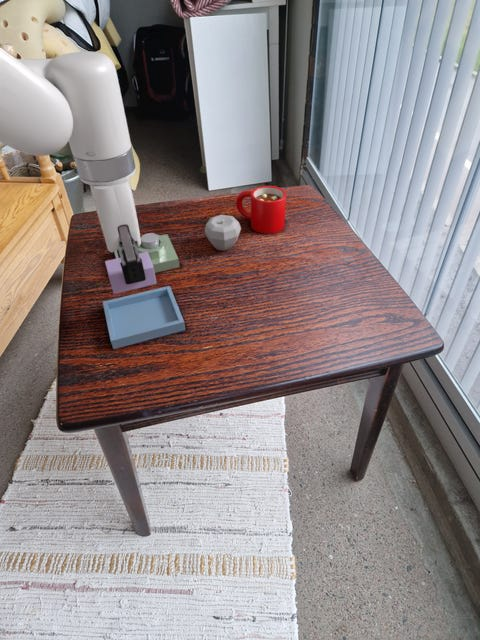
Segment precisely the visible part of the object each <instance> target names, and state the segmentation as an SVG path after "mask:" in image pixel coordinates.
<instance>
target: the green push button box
mask: <svg viewBox="0 0 480 640" xmlns="http://www.w3.org/2000/svg"><path fill="white" fill-rule="evenodd" d="M157 235H158V238H159V246H158V247H156V248H153V249H144V248H143V247H142V244H140V246H139V247H138V245H137V248H138V253H144V252H148V254H149V257H150V259H151V262H152V265H153V267H154V272H155V274H156V273H160V272H165V271H169V270H174V269H178V268H181V267H180V259H179V257H178V254H177V252H176V250H175V248H174V246H173V243H172V241H171V239H170V236H169V235H168V234H167V233H166V234H165V233H164V234H157ZM113 253H114V257H115V259H117V258H119V257H118V253H117V251H114V252H113Z"/></svg>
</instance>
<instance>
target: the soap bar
mask: <svg viewBox="0 0 480 640" xmlns="http://www.w3.org/2000/svg"><path fill="white" fill-rule="evenodd" d="M139 257H140V258H141V259H142V264H143V268H144V272H145V277H146V280H145V281H141V282H137V283H133V284H126V283H125V279H124V275H123V272H122V268H121V264H120V263H121V262H122V261H121V258H117V259H116V258H113V259H107V260H105V261H104V263H105V267H106V270H107V275H108V279H109V284H110V286H111V289H112V292H113V294H114V295H117V294H120V293H125V292H128V291H133V290H137V289H140V288H145V287H149V286H153V285H157V279H156V278H157V277H156V273H155V272H154V267H153V265H152V262H151V259H150V257H149V254H148V252H144V253H139Z"/></svg>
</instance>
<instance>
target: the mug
mask: <svg viewBox="0 0 480 640" xmlns="http://www.w3.org/2000/svg"><path fill="white" fill-rule="evenodd" d="M245 198H250V212H249V211H247V210H246V209H245V207H244V206H243V200H244V199H245ZM286 204H287V192H286V191H285V190H284V189H283V188H281V187H278V186H275V185H262V186H258V187H255V188H254V189H253V190H252V189H245V190H242V191H241V192H240V193H239V194H238V195H237V197H236V199H235V206H236V209H237V211H238V213H239V214H240V215H241V216H242V217H243V218H245V219H247V220H250V227H251V229H252V230H253V231H255V232H257V233H259V234H265V235H269V234H270V235H272V234H276V233H279V232H281V231H282V230H283V229H284V227H285V221H286V206H287V205H286Z"/></svg>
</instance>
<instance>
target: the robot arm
mask: <svg viewBox="0 0 480 640" xmlns="http://www.w3.org/2000/svg"><path fill="white" fill-rule="evenodd" d="M0 143H2V144H4V145H5V146H6V147H7V146H8V147H10V148H11V149H14V150H15V151H18V152H20V153H23V154H25V155H30V156H36V157H37V156H38V157H43V156H45V157H46V156H51V155H54V154H56V153H57V152H60V151H61V150H62V149H64V147H66V146H67V144H68V145H69V148H70V150H71V154H72V158H73V160H74V163H75V167H76V170H77V174H78V177H79V180H80V181H81V182H82V183H84V184H86V185H89V188H90V192H91V196H92V201H93V203H94V208H95V211H96V214H97V217H98V218H97V219H98V221H99V224H100V228H101V231H102V235H103V238H104V241H105V245H106V248H107V251H108V252H110V253H114V251H117V253H118V257H119V258H121V261H122V262H121V263H120V264H121V268H122V272H123V275H124V279H125V283H126V284H133V283H137V282H141V281H145V280H146V277H145V272H144V268H143V264H142V259H141V258H140V257H139V253H138V248H137V245H138V247H139V246H140V244H141V232H140V231H141V230H140V225H139V220H138V215H137V209H136V203H135V199H134V193H133V190H132V185H131V182H130V181H131V180H130V179H131V178H133V177H134V176H135V175H136V173H137V167H136V162H135V157H134V151H133V147H132V142H131V137H130V132H129V127H128V121H127V116H126V113H125V107H124V102H123V97H122V92H121V87H120V83H119V78H118V72H117V69H116V66H115V63H114V62H113V60H112V59H111V58H110V57H109V56H108V55H106V54H104V53H101V52H98V51H75V52H68V53H64V54H61V55H58V56H56V57H54V58H51V57H50V58H16V57H14V56H13V55H11V54H10V53H9V52H7V51H6V50H5V49H4V48H2V47H0Z"/></svg>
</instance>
